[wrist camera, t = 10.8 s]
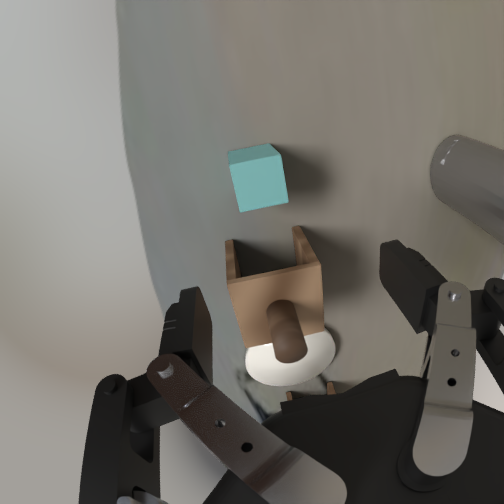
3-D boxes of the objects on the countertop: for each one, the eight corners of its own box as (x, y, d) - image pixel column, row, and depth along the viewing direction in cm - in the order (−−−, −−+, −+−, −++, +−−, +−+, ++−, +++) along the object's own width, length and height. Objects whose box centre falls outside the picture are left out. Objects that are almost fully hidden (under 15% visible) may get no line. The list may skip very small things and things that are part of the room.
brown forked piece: (299, 225, 32) (341, 303, 20) (305, 285, 36) (339, 370, 24) (225, 241, 32) (229, 327, 20) (240, 299, 36) (250, 390, 24)
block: (269, 143, 27) (280, 154, 22) (276, 182, 29) (288, 202, 24) (227, 151, 27) (229, 165, 22) (236, 190, 29) (239, 212, 24)
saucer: (350, 340, 41) (352, 345, 40) (293, 387, 46) (294, 393, 45) (285, 306, 37) (286, 312, 36) (227, 364, 41) (227, 370, 40)
